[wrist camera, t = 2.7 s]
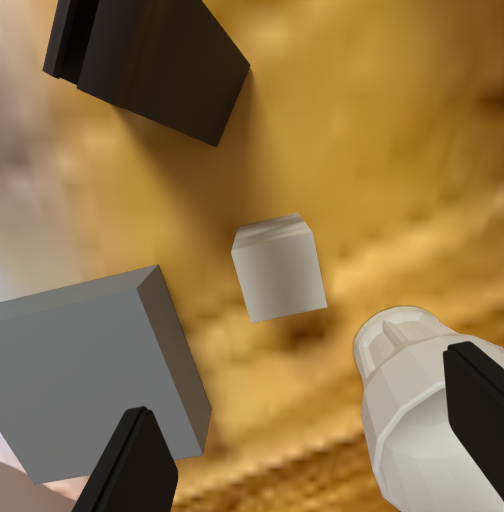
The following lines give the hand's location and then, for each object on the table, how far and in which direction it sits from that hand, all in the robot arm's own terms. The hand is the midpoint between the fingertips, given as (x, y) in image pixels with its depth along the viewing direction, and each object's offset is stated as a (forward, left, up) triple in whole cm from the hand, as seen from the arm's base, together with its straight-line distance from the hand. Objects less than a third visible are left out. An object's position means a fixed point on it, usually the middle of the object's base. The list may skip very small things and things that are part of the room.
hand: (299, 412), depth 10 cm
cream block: (0, 0, -17) cm, 17 cm away
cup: (-9, +12, -17) cm, 23 cm away
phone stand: (+4, -14, -17) cm, 23 cm away
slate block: (+18, +7, -17) cm, 25 cm away
